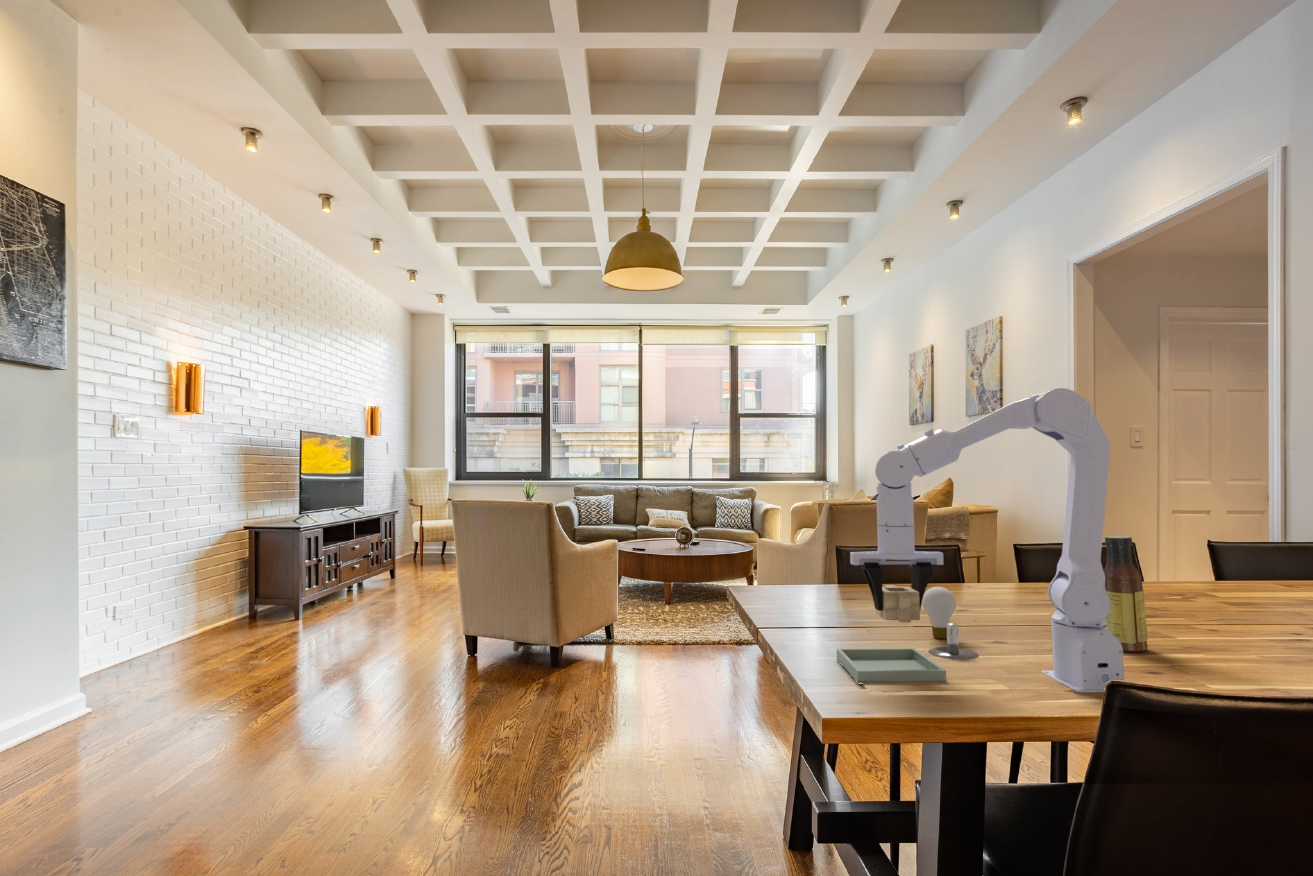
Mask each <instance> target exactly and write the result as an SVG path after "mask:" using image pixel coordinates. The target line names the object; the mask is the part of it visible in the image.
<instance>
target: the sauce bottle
mask: <svg viewBox="0 0 1313 876" xmlns="http://www.w3.org/2000/svg"><path fill="white" fill-rule="evenodd" d="M1104 544H1105V546H1106V551H1107V552H1106V556H1107V557H1106V564H1105V568H1104V569H1103V571H1104V574H1105V589H1106V592H1107V594H1108V596H1109V599H1110V604H1111V607H1110V612H1109V614H1108V616H1107V617H1106V618H1105V619H1106V620H1107V626H1108V630H1109V632H1110V633H1111V634H1112V635H1114V636H1115V637H1116V638H1117V639H1118V640H1119V642H1120V643H1121V645H1122V649H1123V652H1130V653H1131V652H1132V653H1139V652H1140V653H1141V652H1145V651H1146V652H1147V650H1148V647H1149V646H1148V643H1147V642H1148V629H1147V618H1146V617H1147V615H1146V606H1145V603H1146V602H1145V596H1144V595H1145V593H1144V588H1143V578H1142V576H1141V574H1140V571H1139V569H1138V568H1137V567H1136V566H1135V564H1134V560H1133V554H1132V545H1133V538H1132V536H1130V535H1129V536H1128V535H1106V536H1105V537H1104Z"/></svg>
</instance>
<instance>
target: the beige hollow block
mask: <svg viewBox="0 0 1313 876" xmlns="http://www.w3.org/2000/svg"><path fill="white" fill-rule="evenodd" d="M882 597H883V611H878V610H877V609H875V613H876V615H878V616H879V617H881V618H882V619H883V620H885V621H898V622H900V623H912V621H921V615H920V614H921V613H920V612H921V610H920V604H919V592H918V591H916V590H914V589H912V588H911V586H910V587H909V586H896V585H893V584H888V585H887V584H885V585H884V586H882Z"/></svg>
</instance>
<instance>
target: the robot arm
mask: <svg viewBox="0 0 1313 876" xmlns="http://www.w3.org/2000/svg"><path fill="white" fill-rule="evenodd" d="M1010 429H1014V430H1015V429H1016V430H1027V429H1033V430H1035V431H1037V432H1038V433H1041V434H1043V435H1045V436H1047V437H1050V438H1052V439H1054V440H1055V441H1056V442H1057V443H1058V444H1059V445H1060V446H1061V447H1062V448H1064V450H1066V451H1067V452H1068V453H1069V455H1070V457H1069V458H1070V459H1069V471H1068V481H1067V493H1066V494H1067V495H1066V505H1065V515H1064V516H1065V517H1064V527H1063V536H1062V537H1063V540H1062V551H1061V556H1060V557H1059V560H1058V562H1057V565H1056V572H1055V576H1054V577H1053V578H1052V580H1051V581H1050V583H1049V586H1048V588H1047V596H1048V599H1049V600H1050V601H1049V602H1050V603H1051V604H1052V605H1053V606H1054V607H1055V608H1056V609H1055V611H1054V613H1053V614H1051V617H1050V619H1051V636H1052V637H1051V641H1052V643H1051V644H1052V661H1053V663H1052V664H1053V670H1041V673H1042V674H1044V675H1046V676H1048V677H1049V678H1052V679H1054V680H1055V681H1057V682H1059V683H1061V684H1063V685H1065V686H1066V687H1069V689H1071V690H1072V692H1075V693H1105V692H1104V688H1105V686H1106V683H1107V682H1108V681H1110V680H1124V681H1125V666H1124V665H1125V663H1124V651H1123V649H1122V645H1121V643H1120V642H1119V640H1118V639H1117V638H1116V637H1115V636H1114V635H1112V634H1111V633H1110V632H1109V630H1108V626H1107V620H1106V619H1105V618H1106V617H1107V616H1108V614H1109V612H1110V607H1111V604H1110V599H1109V596H1108V594H1107V592H1106V589H1105V574H1104V569H1103V566H1102V565H1103V564H1102V561H1101V559H1102V548H1103V547H1102V546H1103V536H1104V522H1105V513H1106V511H1105V510H1106V500H1107V489H1108V475H1109V467H1110V466H1109V465H1110V452H1111V443H1110V439H1109V437H1108V436H1107V434H1106V432H1105V430H1104V429H1103V427H1102V425H1101V423H1100V421H1099V420H1098V418H1097V417H1096V415H1095V413H1094V410H1093V405H1092V404H1091V402H1089V401H1088V400H1087V399H1085V398H1083V396H1081V395H1080V394H1079V393H1077V392H1076V391H1074V390H1072V389H1070V388H1069V389H1068V388H1066V387H1063V388H1062V387H1061V388H1060V387H1058V388H1052V389H1051V390H1048V391H1047V392H1045V393H1044V394H1040V395H1039V394H1037V395H1033V396H1030V397H1026V398H1023V399H1021V400H1018V401H1014V402H1011V403H1009V404H1007V405H1005V406H1003V407H1001V408H998V409H997V410H995V411H993V412H990V413H989V414H987V415H985V416H983V417H980V418H979V419H976V420H974V421H973V422H971V423H969V424H966V425H965V426H964V425H963V427H960V428H959V429H957V430H954V431H949V430H947V429H946V430H945V429H943V428H939V429H936V430H935V431H934V429H933V428H930V429H928V430H926V431H924V436H922V437H920V438H918V439H915V440H914V441H910V442H909V443H907V444H905V445H904V444H903V443H901V444H898V445H897V447H896V448H897V450H890V451H888V452H887V453H885V454H883V455H882V456H881V457H880V458H879V459H878V461H877V463H876V464H875V465H876V466H875V470H874V471H875V472H874V473H875V476H876V479H877V480H878V481H879V482H877V487H876V493H877V494H878V495H877V496H876V520H877V521H876V524H877V525H876V527H877V529H876V530H877V550H872V551H871V550H870V551H850V552H849V562H850V565H853V566H860V569H861V571H862V573H863V575H864V577H865V580H866V582H867V584H868V587H869V589H870V592H871V596H872V600H873V605H874V609H875V610H876V609H877V610H878V611H883V597H882V587H883V580H884V570H883V569H882V568H881V566H880V565H908V569H909V575H910V584H911V586H910V588H912V589H914V590H916V591H918V592H919V604H920V611H921V608H922V605H923V604H922V599H923V596H924V594H925V592H926V589H927V587H928V584H929V582H930V580H931V578H932V576H933V575H934V573H935V567H934V566H932V565H937V566H943V565H944V552H941V551H922V550H915V547H916V546H915V518H914V517H915V516H914V514H915V513H914V510H915V509H914V507H915V506H914V497H913V496H912V482H911V481H912V480H913V478H914V476H918V477H919V478H922V477H924V476H927V475H928V474H931V473H933V472H935V471H937V470H938V471H939V470H940V469H941V468H945V467H946V466H948V465H951V464H953V463H955V462H957V461H958V460H959V458H960V455H961V452H962V450H963V449H966V448H967V447H969V446H972V445H974V444H977V443H979V442H982V441H983V440H986V439H988V438H990V437H993V436H995V435H998V434H1000V433H1001V432H1004V431H1007V430H1010Z"/></svg>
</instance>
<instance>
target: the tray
mask: <svg viewBox="0 0 1313 876" xmlns="http://www.w3.org/2000/svg"><path fill="white" fill-rule="evenodd" d="M837 660H838V661H839V662H840V663H841V664H842V665H843V666H844V668H845V669H846V670H847V671H848V672H849V673H850V675H852V677H853V678H854V679H855V680H856V681H857V682H858V683H860V682H861V683H865V682H868V683H869V682H878V683H879V682H882V683H884V682H947V670H946V669H945V668H943V667H942V666H940V665H939V664H938V663H937V662H935V661H934V660H932V659H931V658H929V657H928V656H926V655H925V654H924V653H922V652H921V651H920V650H919V649H917V648H916V647H914V648H913V647H912V648H911V647H910V648H907V647H906V648H905V647H903V648H902V647H899V648H898V647H897V648H896V647H894V648H893V647H891V648H890V647H889V648H888V647H887V648H881V647H880V648H876V647H875V648H873V647H872V648H836V661H837ZM838 661H837V662H838ZM844 668H843V669H844ZM845 669H844V670H845ZM846 670H845V671H846ZM850 675H849V676H850ZM852 677H851V678H852ZM853 678H852V679H853ZM854 679H853V680H854Z"/></svg>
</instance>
